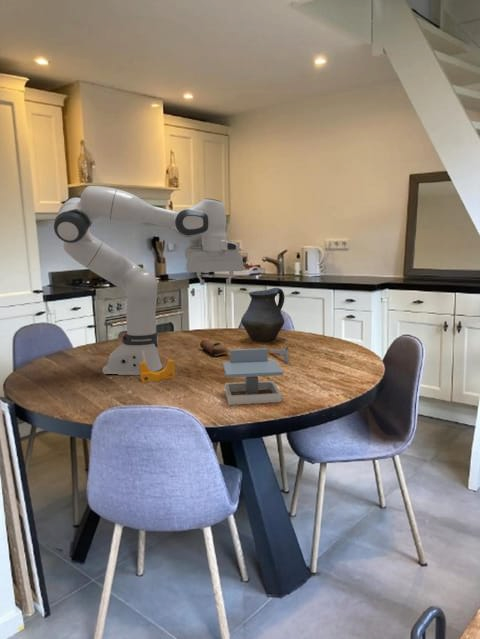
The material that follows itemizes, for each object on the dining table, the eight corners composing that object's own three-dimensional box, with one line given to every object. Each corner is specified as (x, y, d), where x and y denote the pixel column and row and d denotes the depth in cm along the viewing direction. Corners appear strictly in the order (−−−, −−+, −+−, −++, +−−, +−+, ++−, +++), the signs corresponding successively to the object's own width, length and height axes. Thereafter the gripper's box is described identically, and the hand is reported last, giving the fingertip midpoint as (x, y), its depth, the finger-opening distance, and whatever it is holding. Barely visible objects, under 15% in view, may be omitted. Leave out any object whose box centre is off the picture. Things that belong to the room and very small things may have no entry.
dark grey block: (247, 399, 161) (246, 378, 159) (245, 396, 164) (245, 375, 163) (258, 399, 161) (258, 377, 160) (256, 395, 164) (256, 374, 163)
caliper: (289, 363, 202) (289, 347, 201) (286, 363, 202) (286, 348, 201) (271, 351, 221) (271, 337, 220) (268, 351, 221) (268, 337, 220)
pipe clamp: (141, 382, 181) (140, 365, 180) (140, 379, 185) (139, 362, 184) (175, 379, 184) (175, 362, 183) (173, 376, 189) (173, 359, 187)
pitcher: (234, 339, 251) (233, 288, 247) (272, 334, 262) (271, 285, 257) (255, 346, 234) (254, 292, 229) (295, 341, 244) (295, 289, 239)
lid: (226, 377, 153) (226, 361, 152) (222, 365, 167) (222, 350, 167) (283, 375, 154) (283, 358, 154) (274, 362, 169) (274, 347, 168)
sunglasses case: (231, 350, 219) (221, 339, 216) (219, 362, 218) (209, 351, 215) (217, 342, 235) (207, 332, 233) (206, 353, 234) (197, 343, 232)
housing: (228, 406, 155) (228, 396, 154) (225, 392, 168) (224, 383, 168) (281, 403, 156) (281, 393, 156) (273, 389, 170) (273, 380, 170)
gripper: (185, 246, 179) (186, 286, 181) (243, 245, 181) (244, 284, 183) (184, 245, 185) (186, 284, 187) (241, 244, 187) (242, 282, 189)
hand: (215, 284), depth 185 cm, fingers open, 8 cm apart
